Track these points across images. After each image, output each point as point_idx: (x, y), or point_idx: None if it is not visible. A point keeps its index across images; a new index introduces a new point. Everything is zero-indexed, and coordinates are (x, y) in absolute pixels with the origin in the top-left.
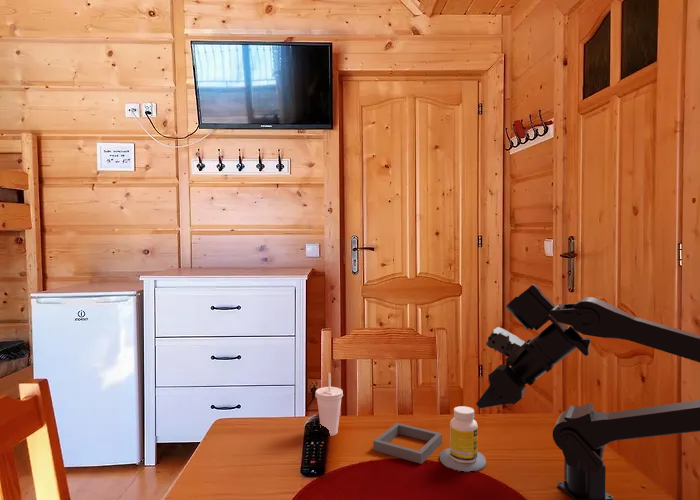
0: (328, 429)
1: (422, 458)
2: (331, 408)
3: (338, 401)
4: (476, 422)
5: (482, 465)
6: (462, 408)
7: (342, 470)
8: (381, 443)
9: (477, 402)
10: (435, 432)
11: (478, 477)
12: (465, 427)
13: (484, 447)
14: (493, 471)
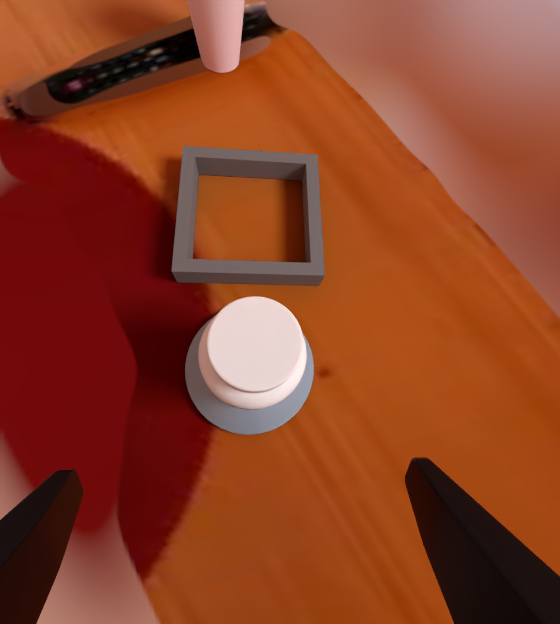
0: (199, 47)
1: (182, 277)
2: None
3: None
4: (274, 399)
5: (234, 432)
6: (268, 329)
7: (63, 147)
8: (181, 166)
9: (40, 486)
10: (320, 258)
11: (180, 437)
12: (205, 374)
13: (360, 395)
14: (235, 465)
